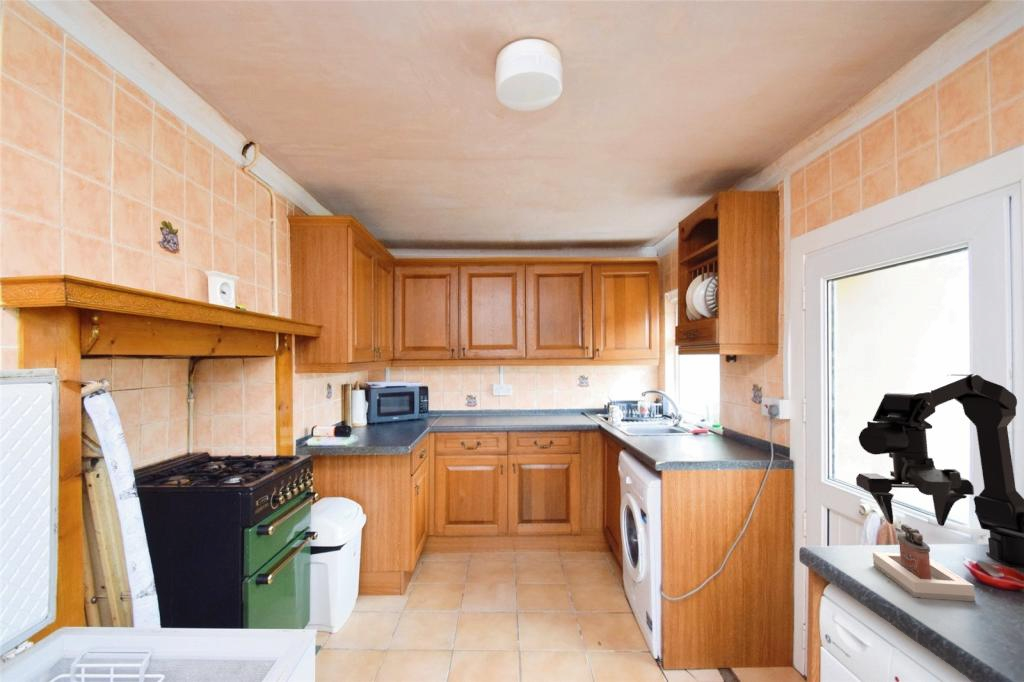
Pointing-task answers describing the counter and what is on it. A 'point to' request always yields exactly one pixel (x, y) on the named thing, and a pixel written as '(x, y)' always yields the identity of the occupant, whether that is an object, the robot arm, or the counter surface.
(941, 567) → the tray
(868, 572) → the counter surface
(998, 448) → the robot arm
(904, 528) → the lighter
